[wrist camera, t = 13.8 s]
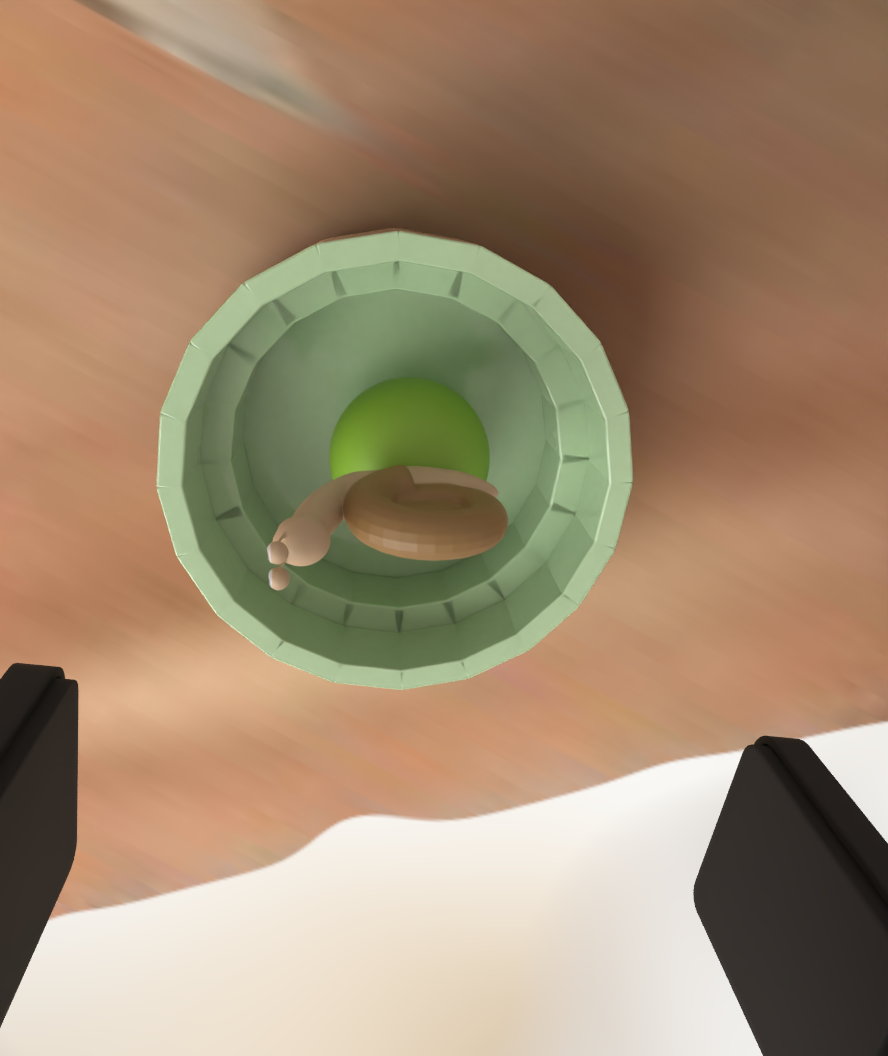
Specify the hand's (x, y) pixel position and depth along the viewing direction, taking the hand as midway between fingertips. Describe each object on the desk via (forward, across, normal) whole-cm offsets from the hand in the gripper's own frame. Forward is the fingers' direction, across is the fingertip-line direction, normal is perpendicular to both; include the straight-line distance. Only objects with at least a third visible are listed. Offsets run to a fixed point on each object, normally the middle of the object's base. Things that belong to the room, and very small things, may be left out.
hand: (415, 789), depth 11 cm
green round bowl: (+21, 0, +1) cm, 21 cm away
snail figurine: (+20, 0, +1) cm, 20 cm away
